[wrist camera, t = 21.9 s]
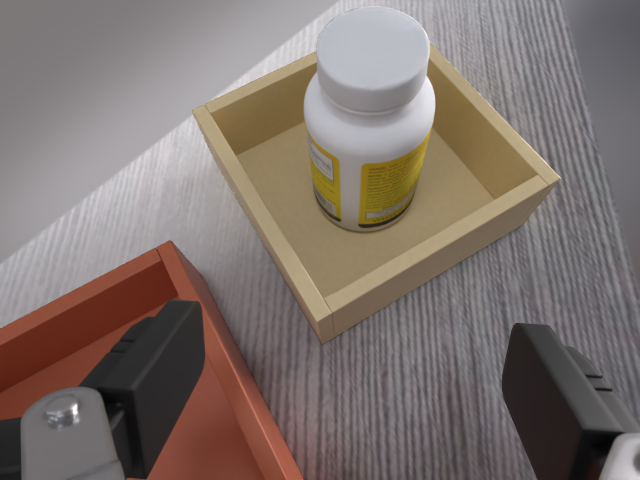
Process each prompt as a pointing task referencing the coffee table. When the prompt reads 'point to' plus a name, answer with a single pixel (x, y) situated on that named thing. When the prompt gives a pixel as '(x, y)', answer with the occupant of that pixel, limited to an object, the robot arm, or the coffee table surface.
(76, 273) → the coffee table surface
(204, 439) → the terracotta bin
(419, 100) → the supplement bottle
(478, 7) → the coffee table surface
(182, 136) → the coffee table surface
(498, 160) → the cream bin
